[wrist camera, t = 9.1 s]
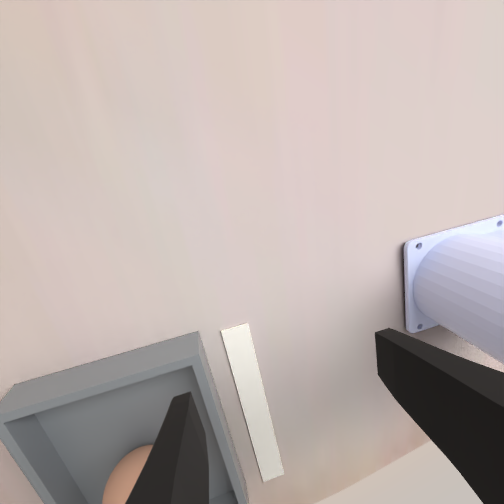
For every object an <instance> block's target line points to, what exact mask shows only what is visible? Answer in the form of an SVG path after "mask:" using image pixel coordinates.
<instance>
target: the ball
mask: <svg viewBox="0 0 504 504" xmlns="http://www.w3.org/2000/svg"><path fill="white" fill-rule="evenodd" d="M152 447H153V445H145V446H141V447H139V448H136V449H134V450H133V451H131V452H130V453H128V454H127V455H126V456H125V457H124V458H122V459H121V460H120V462H119V463H118V464H117V465H116V467H115V468H114V470H113V471H112V473H111V474H110V476H109V479H108V481H107V483H106V486H105V489H104V494H103V499H102V504H125V502H126V501H127V499H128V497H129V495H130V493H131V491H132V489H133V487H134V485H135V483H136V481H137V479H138V477H139V475H140V473H141V471H142V469H143V467H144V465H145V462H146V460H147V458H148V456H149V454H150V451H151V449H152Z"/></svg>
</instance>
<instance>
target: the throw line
mask: <svg viewBox="0 0 504 504" xmlns="http://www.w3.org/2000/svg"><path fill="white" fill-rule="evenodd" d="M221 333H222V337H223V340H224V344H225V348H226V351H227V355H228V358H229V362H230V365H231V369H232V373H233V376H234V380H235V383H236V387H237V390H238V394H239V397H240V401H241V405H242V408H243V412H244V415H245V419H246V422H247V426H248V430H249V433H250V437H251V440H252V444H253V447H254V451H255V454H256V458H257V462H258V465H259V469H260V472H261V476H262V479H263V482H265V481H267V480H270V479H273V478H275V477H278V476H281V475H283V474H284V470H283V466H282V462H281V458H280V453H279V449H278V445H277V441H276V437H275V433H274V429H273V424H272V420H271V416H270V412H269V408H268V404H267V400H266V395H265V391H264V387H263V383H262V379H261V375H260V371H259V366H258V362H257V358H256V354H255V350H254V346H253V342H252V337H251V333H250V329H249V325H248V323H246V324H243V325H239V326H236V327H232V328H229V329H226V330H222V331H221Z"/></svg>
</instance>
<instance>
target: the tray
mask: <svg viewBox="0 0 504 504" xmlns="http://www.w3.org/2000/svg"><path fill="white" fill-rule="evenodd" d="M190 391H191V393H192V396H193V399H194V402H195V405H196V407H197V410H198V413H199V416H200V419H201V422H202V425H203V427H204V430H205V433H206V442H207V451H208V462H209V504H249V500H248V494H247V488H246V483H245V479H244V476H243V473H242V470H241V467H240V463H239V460H238V457H237V454H236V450H235V447H234V444H233V441H232V438H231V434H230V431H229V428H228V425H227V422H226V418H225V415H224V412H223V409H222V406H221V402H220V399H219V396H218V393H217V390H216V386H215V383H214V380H213V377H212V373H211V370H210V367H209V364H208V361H207V357H206V354H205V351H204V348H203V345H202V341H201V338H200V335H199V332H198V331H197V332H193V333H190V334H187V335H183V336H180V337H176V338H173V339H169V340H166V341H163V342H159V343H156V344H152V345H149V346H145V347H142V348H139V349H135V350H132V351H128V352H125V353H121V354H118V355H115V356H111V357H108V358H104V359H101V360H97V361H94V362H91V363H87V364H84V365H80V366H77V367H74V368H70V369H67V370H63V371H60V372H56V373H53V374H50V375H46V376H43V377H39V378H36V379H32V380H29V381H26V382H22V383H19V384H15V385H14V386H13V387H12V388H11V390H10V391H9V392H8V393H7V394H6V396H5V397H4V398H3V399H2V401H1V402H0V439H1V441H2V442H3V444H4V445H5V447H6V448H7V450H8V451H9V453H10V454H11V456H12V457H13V458H14V460H15V461H16V463H17V464H18V466H19V467H20V469H21V470H22V472H23V473H24V475H25V476H26V478H27V479H28V481H29V482H30V483H31V485H32V486H33V488H34V489H35V491H36V492H37V494H38V495H39V497H40V498H41V500H42V501H43V503H44V504H102V499H103V494H104V489H105V486H106V483H107V481H108V479H109V476H110V474H111V473H112V471H113V470H114V468H115V467H116V465H117V464H118V463H119V462H120V460H121V459H122V458H124V457H125V456H126V455H127V454H128V453H130V452H131V451H133V450H134V449H136V448H139V447H141V446H145V445H154V442H155V440H156V438H157V436H158V433H159V431H160V428H161V426H162V424H163V421H164V419H165V416H166V413H167V411H168V408H169V406H170V403H171V400H172V399H173V397H175V396H178V395H181V394H184V393H187V392H190Z"/></svg>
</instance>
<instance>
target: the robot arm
mask: <svg viewBox="0 0 504 504" xmlns="http://www.w3.org/2000/svg"><path fill="white" fill-rule="evenodd" d="M417 244H418V246H417V247H416V245H417ZM404 276H405V310H406V330H407V331H409V332H410V333H416V332H419V331H422V330H425V329H428V328H431V327H434V326H437V325H442V326H443V327H445V328H447V329H448V330H450V331H451V332H453V333H454V334H456V335H458V336H459V337H461V338H462V339H464V340H466V341H467V342H469V343H470V344H472V345H474V346H475V347H477V348H478V349H480V350H482V351H483V352H485V353H486V354H488V355H490V356H491V357H493V358H494V359H496V360H498V361H499V362H501V363H502V364H504V214H503V215H499V216H496V217H492V218H489V219H485V220H481V221H478V222H474V223H471V224H467V225H463V226H460V227H456V228H452V229H449V230H445V231H442V232H438V233H434V234H431V235H427V236H424V237H420V238H416V239H413V240H409V241H407V242H406V243H405V245H404ZM375 340H376V354H377V368H378V375H379V377H380V378H381V380H382V381H383V383H384V384H385V385H386V387H387V388H388V390H389V391H390V392H391V394H392V395H393V397H394V398H395V399H396V400H397V402H398V403H399V404H400V405H401V406H402V407H403V409H404V410H405V411H406V412H407V413H408V414H409V415H410V416H411V418H412V419H413V420H414V421H415V422H416V423H417V424H418V425H419V427H420V428H421V429H422V430H423V431H424V432H425V433H426V434H427V435H428V437H429V438H430V439H431V440H432V441H433V442H434V443H435V444H436V445H437V447H438V448H439V449H440V450H441V451H442V452H443V453H444V454H445V455H446V457H447V458H448V459H449V460H450V461H451V463H452V464H453V465H454V466H455V467H456V469H457V470H458V471H459V472H460V473H461V475H462V476H463V477H464V479H465V480H466V481H467V483H468V484H469V485H470V487H471V488H472V489H473V490H474V492H475V493H476V494H477V496H478V497H479V498H480V500H481V501H482V502H483V504H504V373H503V372H500V371H497V370H494V369H492V368H489V367H486V366H483V365H480V364H478V363H475V362H472V361H469V360H467V359H464V358H462V357H459V356H456V355H454V354H451V353H449V352H446V351H444V350H441V349H439V348H437V347H434V346H432V345H429V344H427V343H425V342H422V341H420V340H417V339H415V338H413V337H410V336H408V335H406V334H403V333H401V332H398V331H396V330H393V329H390V328H388V329H385V330H382V331H378V332H375ZM125 504H209V462H208V451H207V442H206V433H205V430H204V427H203V425H202V422H201V419H200V416H199V413H198V410H197V407H196V405H195V402H194V399H193V396H192V393H191V391H190V392H187V393H184V394H181V395H178V396H175V397H173V399H172V400H171V403H170V406H169V408H168V411H167V413H166V416H165V419H164V421H163V424H162V426H161V428H160V431H159V433H158V436H157V438H156V440H155V442H154V445H153V447H152V449H151V451H150V454H149V456H148V458H147V460H146V462H145V465H144V467H143V469H142V471H141V473H140V475H139V477H138V479H137V481H136V483H135V485H134V487H133V489H132V491H131V493H130V495H129V497H128V499H127V501H126V502H125Z"/></svg>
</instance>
